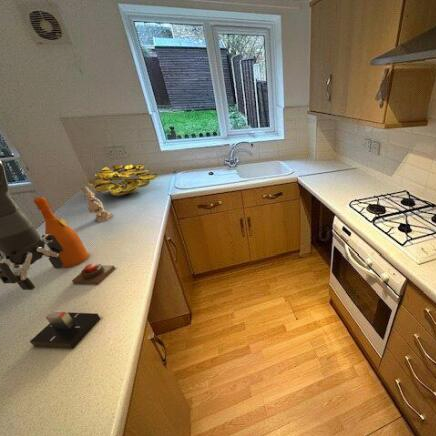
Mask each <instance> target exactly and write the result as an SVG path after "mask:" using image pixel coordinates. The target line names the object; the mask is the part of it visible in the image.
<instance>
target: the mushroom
mask: <svg viewBox="0 0 436 436" xmlns="http://www.w3.org/2000/svg"><path fill="white" fill-rule="evenodd" d="M144 167H145V166H144V164H143V163H138V164H136V165H133V164H132V163H131V164H126V165H122V164H114V165H112V169H111V168H109V167H108V166H104V167H102V168H101V171H99V172H97V173H95V174H94V176H95V177H96V178H93V179H91V180H89V181H88V182H86V183H87V185H89V186H94V188H93V192H96V193H101V194H102V193H103V194H104V193H109V192H110V193H111V195H112V196H122V195H129V194H132V193H135V192H136V191H137V190H138V188H145V187H147V186H148V185H150V183H151V181H153V180H155V179H157V177H158V174H157V173H151V174H150V173H149V172H150V170H149V169H146V168H144ZM130 177H137V178H130ZM112 179H113V180H115V179H117V180H118V179H122V180H123V179H124V180H123V181H121V183H120V182H116V183H115V182H112Z"/></svg>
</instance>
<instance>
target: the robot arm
mask: <svg viewBox="0 0 436 436" xmlns="http://www.w3.org/2000/svg"><path fill="white" fill-rule="evenodd" d="M45 244H46V246H47V245H48V246H47V247H48V249H47V248H45ZM49 248H50V249H51V251H50V249H49ZM62 251H63V248H62V246H61V245H60V244H59V242H58V241H57V239H56V238H55V237H54V235H45V234H42V235H41V236H40V234H39V232H38V230H37V229H36V227H35V226H34V225H33V223H32V222H31V219H30V218H29V217H28V215H27V214H26V213H25V212H24V211H23V210H22V208H21V207H20V206H19V204H18V203H17V201H16V200H15V198H14V196H13V195H12V193H11V191H10V187H9V182H8V178H7V174H6V169H5V166H4V163H3V161H2V160H1V159H0V252H1V253H2V254H4V256H5V258H4V259H3V260H1V261H0V280H1V282H2V283H3V284H17V285H18V286H19V287H20V288H21V290H22V291H23V290H24V291H33V290H34V289H36V286H35V285H34V284H33V282H32V280H31V279H30V278H29V277H27V276H28V271H30V267H31V265H33V264H35V263H36V262H37V261H38V260H41V259H42V258H43V257H45V258H48V261H49V262H50V264H51V265H52V267H53V268H54V269H56V270H57V269H62V268H64V267H63V262H62V261H61V259H60V258H59V253H60V252H62Z"/></svg>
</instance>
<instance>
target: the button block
mask: <svg viewBox="0 0 436 436" xmlns="http://www.w3.org/2000/svg"><path fill="white" fill-rule="evenodd" d="M95 264H96V266H97V269H96V270H95V271H93V272H90V273H86V271H85V269H84V268H83V269H81V272H80V273H79V274H78V275H77V276H75V277H74V278H73V279H71V282H72V284H73V285H100V283H102V282H103V281H104V280H105V279H106V278H107V277H108V276H109V275H110V274H111V273H112V272H114V271H115V270H116V267H115V265H109V264H108V265H107V264H106V265H105V264H101V263H95Z"/></svg>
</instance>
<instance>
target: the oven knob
mask: <svg viewBox="0 0 436 436" xmlns="http://www.w3.org/2000/svg"><path fill="white" fill-rule="evenodd" d="M68 312H69V311H51V312H49V313H48V314H47V315H46V316H45V319H46V320H47V322H48V324H51V325H52V327H53V328H54V329H62V330H70V329H71V328H72V327H73V326H74V325H75V322H74V321H73V319H72V318H71V316H70V315H69V314H68Z"/></svg>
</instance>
